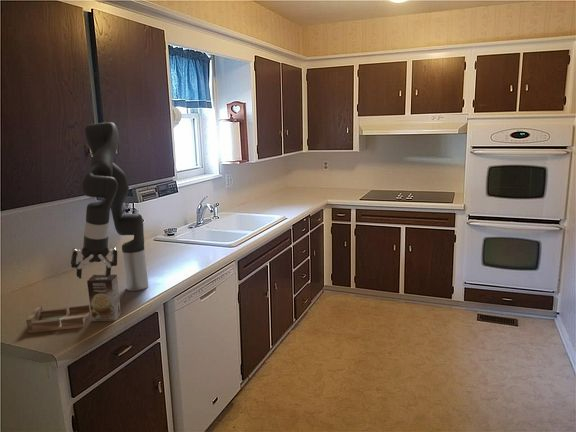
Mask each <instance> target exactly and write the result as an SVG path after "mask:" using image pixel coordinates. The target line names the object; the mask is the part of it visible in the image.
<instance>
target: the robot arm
mask: <svg viewBox="0 0 576 432" xmlns="http://www.w3.org/2000/svg"><path fill="white" fill-rule="evenodd" d="M119 134H120V133H119V129H118V127H117V125H116V124H115V123H114V122H111V121H106V122H99V123H98V122H97V123H92V124H91V123H90V124H87V125H85V127H84V135H85V138H86V142H87V145H88V147H89V150H90V152H91V154H92V157H91V159H90V166H89V170H88V172H87V173H86V174H85V176H84V177H83V179H82V182H81V192H82V193H83V194H84V196H86V197H89V198H100V199H101V198H102V200H99V201H93V202H90V203H88V204H87V206H86V210H85V211H86V213H85V223H84V227H83V228H84V232H83V245H82V248H81V249H77V248H76V247H75V248H73V249H72V252H71V260H70V266H71V268H72V269H75V268H76V273H75V275H76V277H77V278H78V279H79V280H81V279H82V276H83V275H82V274H83V273H82V271H83V269H82V268H83V267H84V266H85V265H87V263H88V262H89V263H94V262H96V263H100V262H102V263H103V264H105V271H104V273H105V274H104V275H106V277H108V275H112V274H111V273H112V272H111V271H112V267H116V266H118V250H117V248H116V247H113V248H109V247H108V246H109V236H110V214H111V215H112V219H113V224H114V229H115V231H116V232H117V234H118V235H120V236H133V239H132V240H129V241H126V242H124V243H122V245H121V252H122V261H123V269H124V278H125V288H126V290H127V291H131V292H136V291H143V290H145V289H147V288H148V287H149V279H148V278H149V277H148V270H147V260H146V251H145V235H144V234H145V232H144V219H143V217H142V215H141V214H140V213H124V212H123V205H124V202H125V200H126V198H127V197H128V194H129V191H130V190H129V189H130V187H129V182H128V179H127V176H126V174H125V172H124V170H123V169H122V168H120V167H119V166H118V165H117V164H116V163H114V159H115V156H116V153H117V150H118V147H119V143H120V135H119ZM80 254H81V255H82V257H81V258H80V260H79V261H78V262H77V257H79V256H80ZM109 254H110V255H111V257H112V258H111V259H112V261H111V260H109V259H108V258H107V256H108V255H109Z"/></svg>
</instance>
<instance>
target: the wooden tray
mask: <svg viewBox="0 0 576 432" xmlns="http://www.w3.org/2000/svg"><path fill="white" fill-rule="evenodd" d="M68 311H69V312H68ZM90 315H91V309H90V304H82V305H73V306H69V307H67V306H65V307H64V306H63V307H54V308H45V309H43V306H42V305H39V306H36V308H35V309H34V310H33V311H32V312H31V314H30V315H29V316H28V317H27V318H26V321H25V322H26V327H27V333H28V334H34V333H44V332H51V331H59V330H61V331H62V330H67V329H78V328H84V326H85V324H86V322H87V321H88V319H89V317H90Z"/></svg>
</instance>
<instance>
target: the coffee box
mask: <svg viewBox="0 0 576 432" xmlns="http://www.w3.org/2000/svg"><path fill="white" fill-rule="evenodd" d="M86 282H87V283H86V284H87V290H88V291H87V292H88V300H89V307H90V315H91V322H107V321H108V322H111V321H112V322H114V321H117V320H118V319H119V317H120V315H121V313H122V312H121V303H120V293H119V284H118V275H117V274H110V275H108V277H106V275H105V274H92V276H91V277H89V278H88V280H86Z"/></svg>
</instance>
